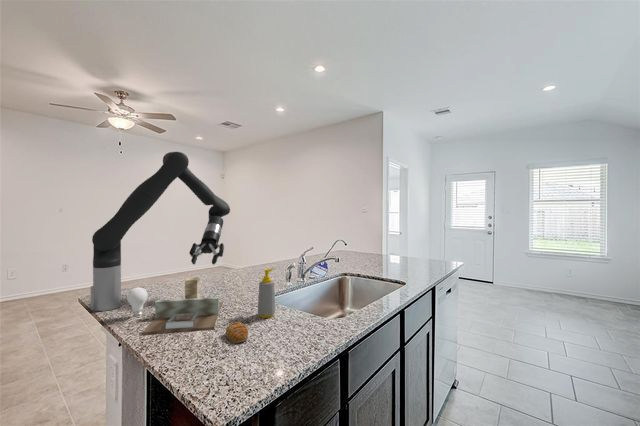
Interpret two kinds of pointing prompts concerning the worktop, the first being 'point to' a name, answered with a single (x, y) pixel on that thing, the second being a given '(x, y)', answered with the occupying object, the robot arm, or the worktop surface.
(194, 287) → the block
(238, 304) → the worktop surface
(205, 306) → the door mockup
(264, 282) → the soap bottle
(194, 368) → the worktop surface
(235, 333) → the pastry
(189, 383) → the worktop surface
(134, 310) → the light bulb
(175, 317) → the keeper socket
